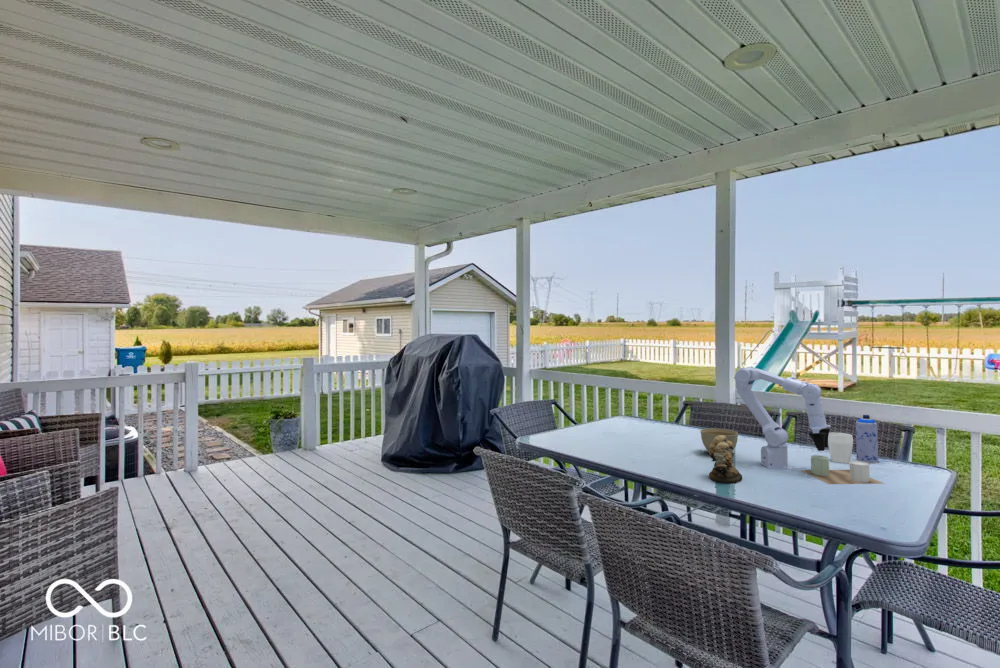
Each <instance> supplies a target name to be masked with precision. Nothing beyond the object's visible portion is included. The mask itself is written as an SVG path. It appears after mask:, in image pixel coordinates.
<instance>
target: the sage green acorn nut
mask: <svg viewBox="0 0 1000 668" xmlns="http://www.w3.org/2000/svg"><path fill="white" fill-rule="evenodd" d="M810 470H811V473H812V474H814V475H820V476H828V475H829V470H830V459H829V457H828V456H825V455H819V454H818V455H817V454H816V455H815V454H814V455H811V458H810Z"/></svg>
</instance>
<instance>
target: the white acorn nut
mask: <svg viewBox="0 0 1000 668" xmlns="http://www.w3.org/2000/svg"><path fill="white" fill-rule="evenodd" d="M849 470H850V480H853V481H855V482H861V483H869V482H870V478H871V475H870V463H866V462H862V461H857V460H851V461H850V463H849Z"/></svg>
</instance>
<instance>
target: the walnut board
mask: <svg viewBox="0 0 1000 668" xmlns="http://www.w3.org/2000/svg"><path fill="white" fill-rule="evenodd" d="M800 471H801V473H802V472H803V473H804V474H806V475H808V476H810V477H813V478H815V479H817V480H819V481H821V482H823V483H825V484H827V485H873V484H874V485H876V484H880V485H881V484H883V485H885V482H882V481H879V480H877V479H874V478H873V477H870V482H869V483H861V482H855V481H853V480H850V469H829V475H828V476H820V475H814V474H812V473H811V469H808V470H807V469H805V470H804V469H803V470H801V469H800Z"/></svg>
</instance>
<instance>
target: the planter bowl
mask: <svg viewBox="0 0 1000 668" xmlns="http://www.w3.org/2000/svg"><path fill="white" fill-rule="evenodd" d="M699 432H700V438H701V441H702V444H703V446H704V448H705V449H706V451H707V454H708V453H709V454H708V455H710V449H709V446H710V444H711V443H712V440H713V439H714V438H715V437H716V436H719V435H724V436H726V438H727V441H731V442H732V443H733V447H734V449H735V448H736V446H737V444H738V437H739V432H738V431H736V430H732V429H728V428H727V429H726V428H713V427H711V428H703V429H700V430H699Z"/></svg>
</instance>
